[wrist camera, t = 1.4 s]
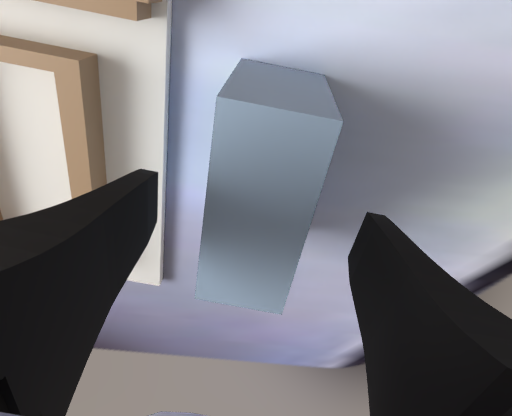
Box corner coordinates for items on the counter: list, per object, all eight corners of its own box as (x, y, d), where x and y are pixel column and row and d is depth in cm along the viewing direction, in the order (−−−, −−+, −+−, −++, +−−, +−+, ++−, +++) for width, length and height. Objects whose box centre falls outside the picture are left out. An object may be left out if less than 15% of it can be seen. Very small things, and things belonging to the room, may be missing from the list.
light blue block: (283, 226, 19) (281, 314, 14) (219, 214, 19) (194, 298, 14) (324, 74, 14) (343, 121, 9) (241, 58, 14) (216, 96, 9)
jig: (162, 279, 21) (151, 305, 20) (-42, 242, 21) (-72, 265, 19) (180, -233, 10) (157, -279, 8) (-260, -330, 10) (-381, -401, 8)
